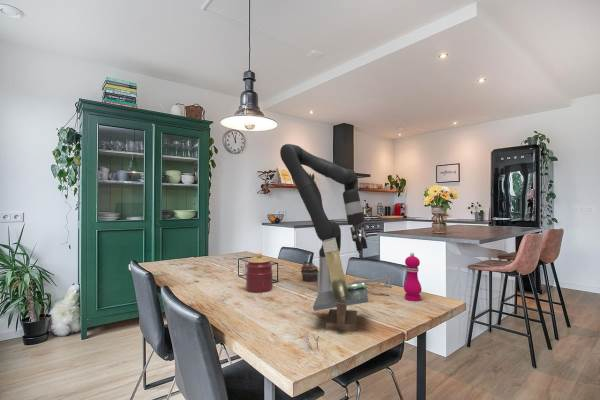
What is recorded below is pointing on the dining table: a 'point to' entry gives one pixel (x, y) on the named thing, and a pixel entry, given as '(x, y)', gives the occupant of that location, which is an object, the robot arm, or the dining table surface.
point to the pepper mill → (412, 279)
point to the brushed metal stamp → (338, 282)
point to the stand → (342, 319)
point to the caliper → (378, 280)
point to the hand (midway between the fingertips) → (362, 249)
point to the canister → (259, 274)
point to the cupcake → (309, 272)
